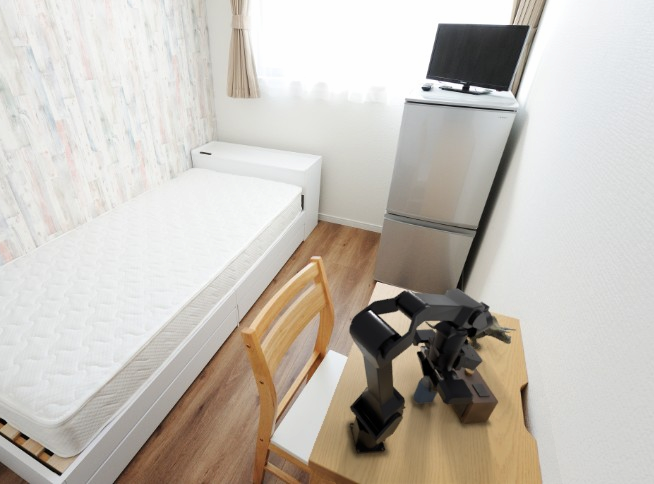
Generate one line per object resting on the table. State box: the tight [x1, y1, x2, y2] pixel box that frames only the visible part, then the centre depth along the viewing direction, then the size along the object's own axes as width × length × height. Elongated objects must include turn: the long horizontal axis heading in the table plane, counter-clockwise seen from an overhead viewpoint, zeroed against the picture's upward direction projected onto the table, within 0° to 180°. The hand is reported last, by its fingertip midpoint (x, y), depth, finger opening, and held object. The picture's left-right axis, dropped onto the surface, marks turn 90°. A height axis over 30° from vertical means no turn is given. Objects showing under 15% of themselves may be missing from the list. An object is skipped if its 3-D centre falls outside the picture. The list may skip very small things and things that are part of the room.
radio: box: [452, 367, 499, 424], centre depth 84 cm, size 6×10×9 cm, turn 4°
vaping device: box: [413, 370, 438, 405], centre depth 83 cm, size 3×5×12 cm, turn 99°
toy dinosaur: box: [424, 314, 517, 350], centre depth 103 cm, size 22×8×11 cm, turn 62°
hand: (429, 386), depth 83 cm, fingers closed on vaping device, 2 cm apart
